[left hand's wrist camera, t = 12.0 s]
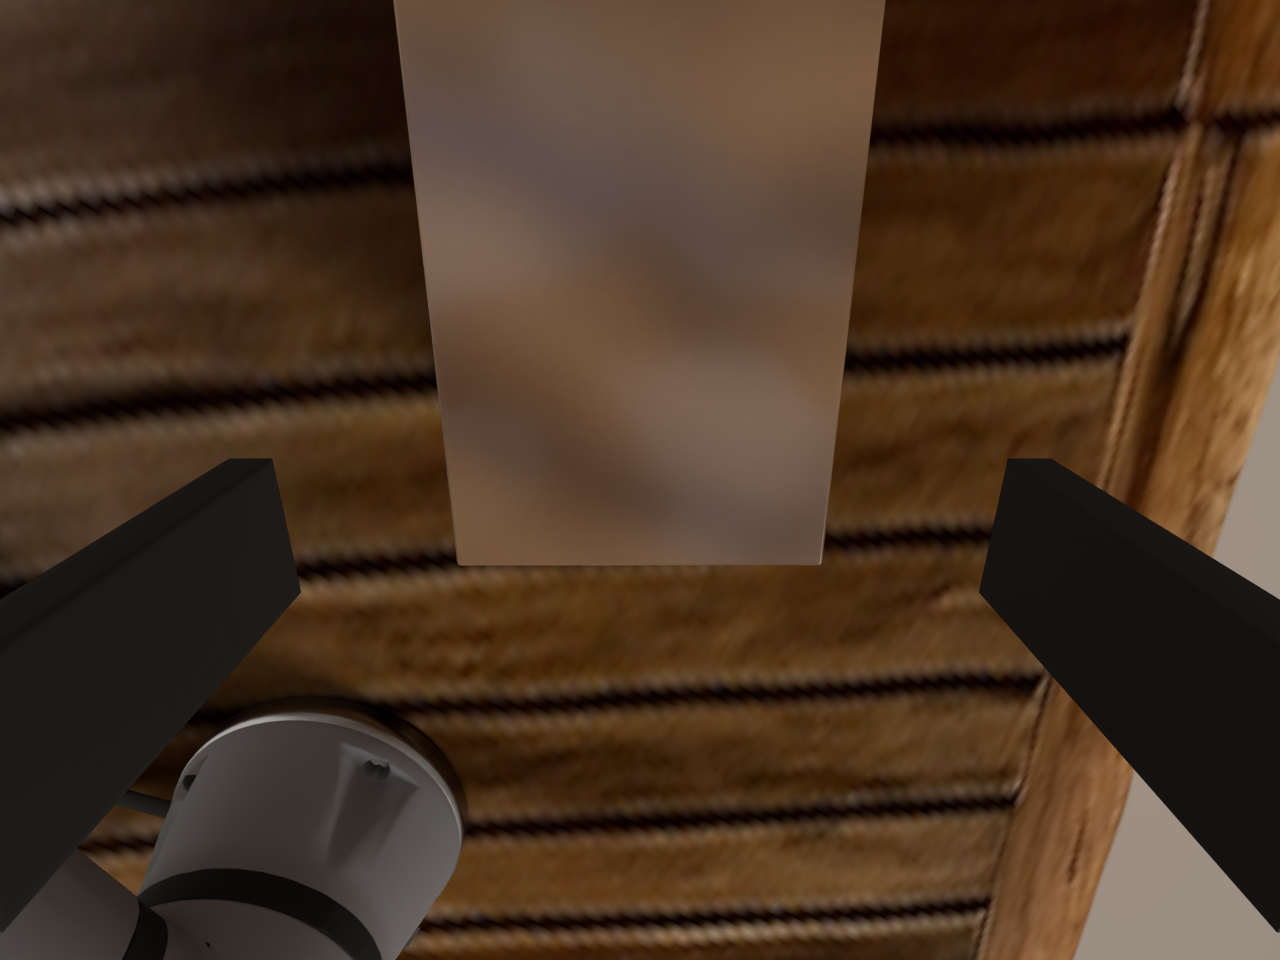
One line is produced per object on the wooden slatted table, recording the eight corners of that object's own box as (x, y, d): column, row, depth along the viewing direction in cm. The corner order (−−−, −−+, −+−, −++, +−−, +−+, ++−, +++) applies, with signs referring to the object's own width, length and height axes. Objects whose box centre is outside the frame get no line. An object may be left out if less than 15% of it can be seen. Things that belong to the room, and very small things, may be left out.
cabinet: (480, -146, 23) (339, -459, 12) (798, -146, 23) (939, -458, 12) (521, 440, 30) (456, 566, 20) (758, 440, 30) (822, 566, 20)
